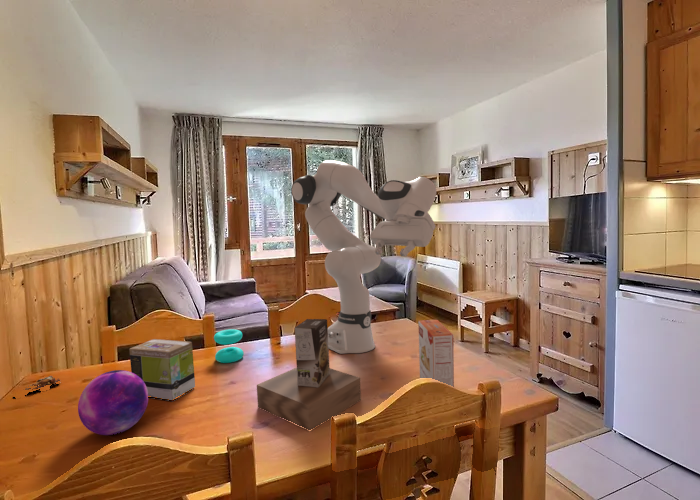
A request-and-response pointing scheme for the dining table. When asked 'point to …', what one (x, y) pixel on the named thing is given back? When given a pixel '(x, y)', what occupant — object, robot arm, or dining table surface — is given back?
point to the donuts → (231, 352)
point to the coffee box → (312, 352)
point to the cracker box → (436, 352)
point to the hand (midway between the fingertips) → (389, 254)
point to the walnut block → (308, 397)
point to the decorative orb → (113, 402)
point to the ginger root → (44, 382)
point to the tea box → (164, 367)
